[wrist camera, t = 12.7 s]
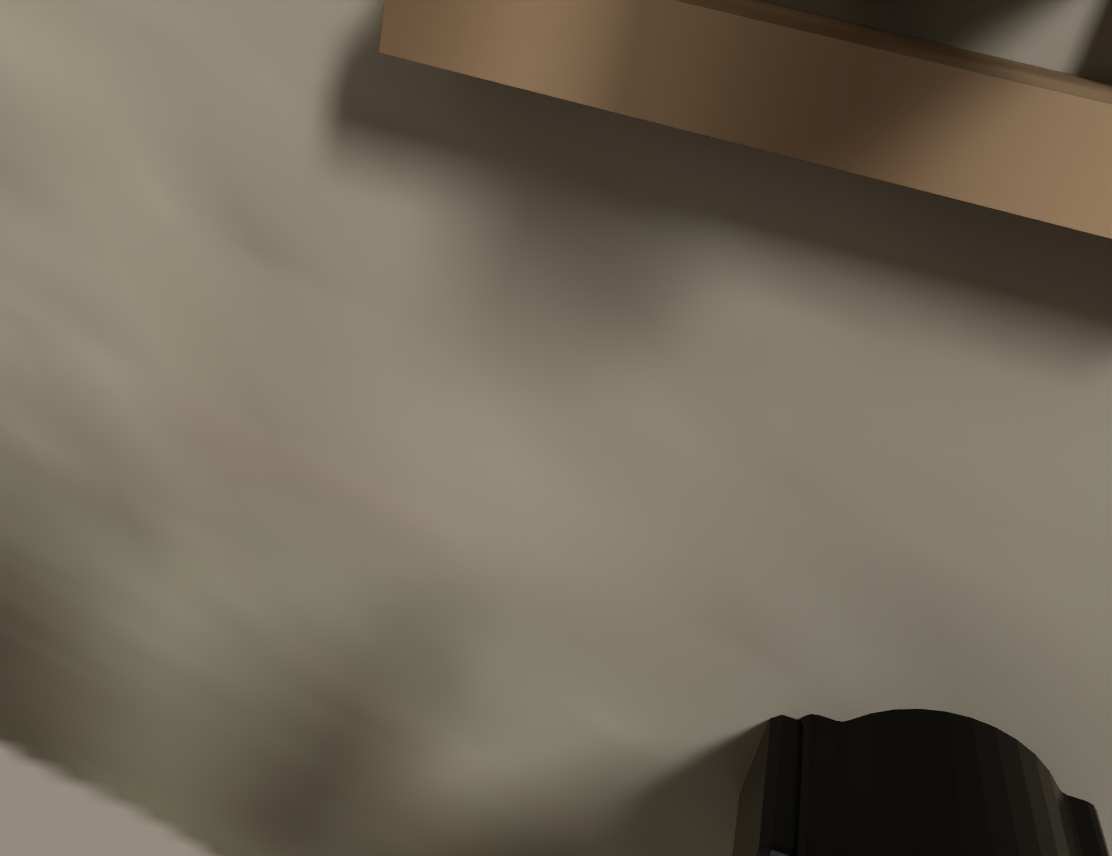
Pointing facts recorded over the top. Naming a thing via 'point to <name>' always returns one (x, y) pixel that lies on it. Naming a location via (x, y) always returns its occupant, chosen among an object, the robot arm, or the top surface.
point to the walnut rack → (796, 91)
